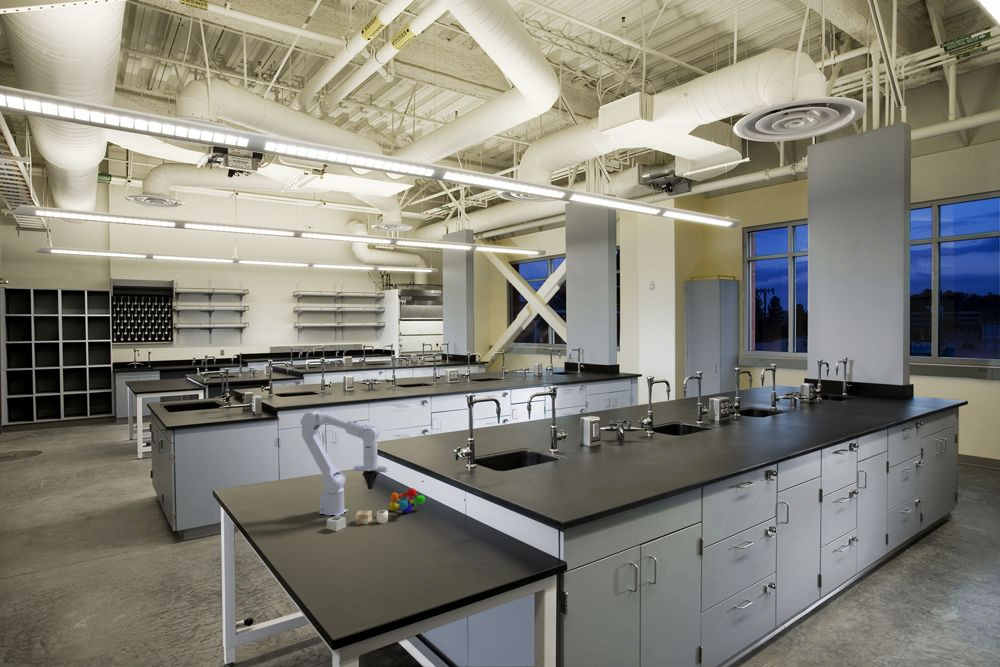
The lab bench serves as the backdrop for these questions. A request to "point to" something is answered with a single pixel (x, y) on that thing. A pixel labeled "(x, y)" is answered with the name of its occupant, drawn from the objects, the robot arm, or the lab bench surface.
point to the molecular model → (407, 503)
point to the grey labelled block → (336, 523)
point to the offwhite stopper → (382, 516)
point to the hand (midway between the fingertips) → (370, 488)
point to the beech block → (363, 517)
